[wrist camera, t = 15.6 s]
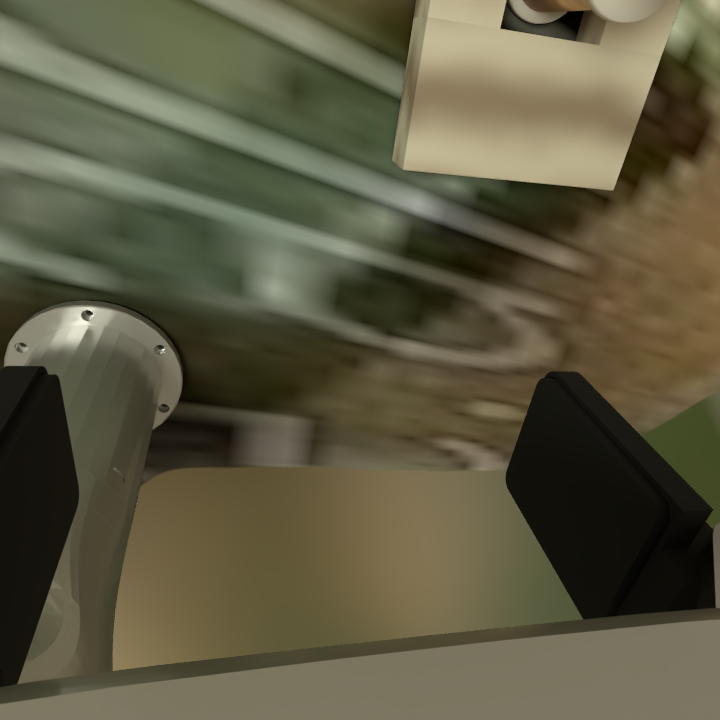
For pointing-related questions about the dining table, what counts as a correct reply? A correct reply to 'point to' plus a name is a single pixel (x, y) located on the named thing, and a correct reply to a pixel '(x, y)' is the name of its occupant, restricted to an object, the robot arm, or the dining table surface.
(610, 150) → the socket board
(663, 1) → the bobbin
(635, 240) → the dining table surface
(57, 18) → the dining table surface
